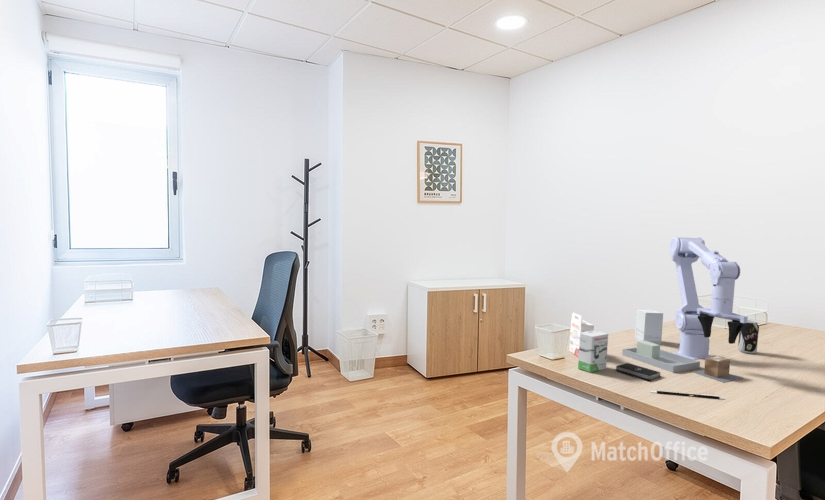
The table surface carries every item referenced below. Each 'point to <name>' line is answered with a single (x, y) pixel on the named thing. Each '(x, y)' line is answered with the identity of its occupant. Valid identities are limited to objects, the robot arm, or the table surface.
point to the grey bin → (664, 360)
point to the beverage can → (749, 337)
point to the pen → (688, 395)
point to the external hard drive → (637, 371)
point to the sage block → (648, 349)
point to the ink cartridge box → (577, 332)
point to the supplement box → (649, 326)
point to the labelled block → (717, 367)
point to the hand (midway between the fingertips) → (719, 340)
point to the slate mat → (721, 379)
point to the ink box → (593, 351)
